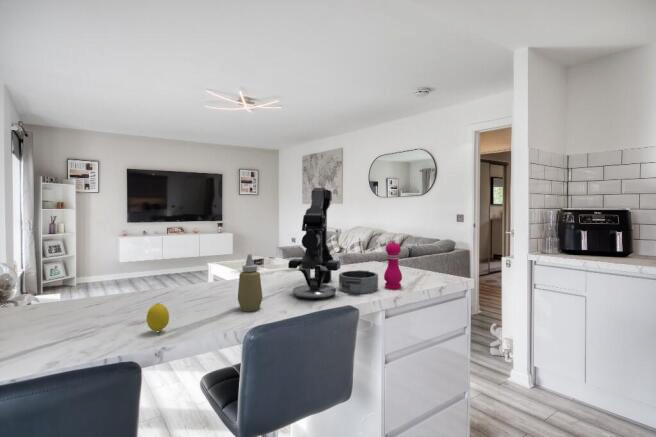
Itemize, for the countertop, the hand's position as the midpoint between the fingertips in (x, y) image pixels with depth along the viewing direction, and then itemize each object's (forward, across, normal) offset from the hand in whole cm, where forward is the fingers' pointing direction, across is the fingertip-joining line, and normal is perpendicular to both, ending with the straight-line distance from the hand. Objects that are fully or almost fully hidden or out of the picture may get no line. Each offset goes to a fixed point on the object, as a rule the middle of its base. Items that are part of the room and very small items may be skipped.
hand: (314, 287), depth 140 cm
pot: (+3, +14, +14) cm, 20 cm away
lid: (+3, 0, 0) cm, 3 cm away
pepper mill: (+3, +27, +20) cm, 34 cm away
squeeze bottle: (+3, -15, -22) cm, 27 cm away
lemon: (+3, -29, -48) cm, 56 cm away
